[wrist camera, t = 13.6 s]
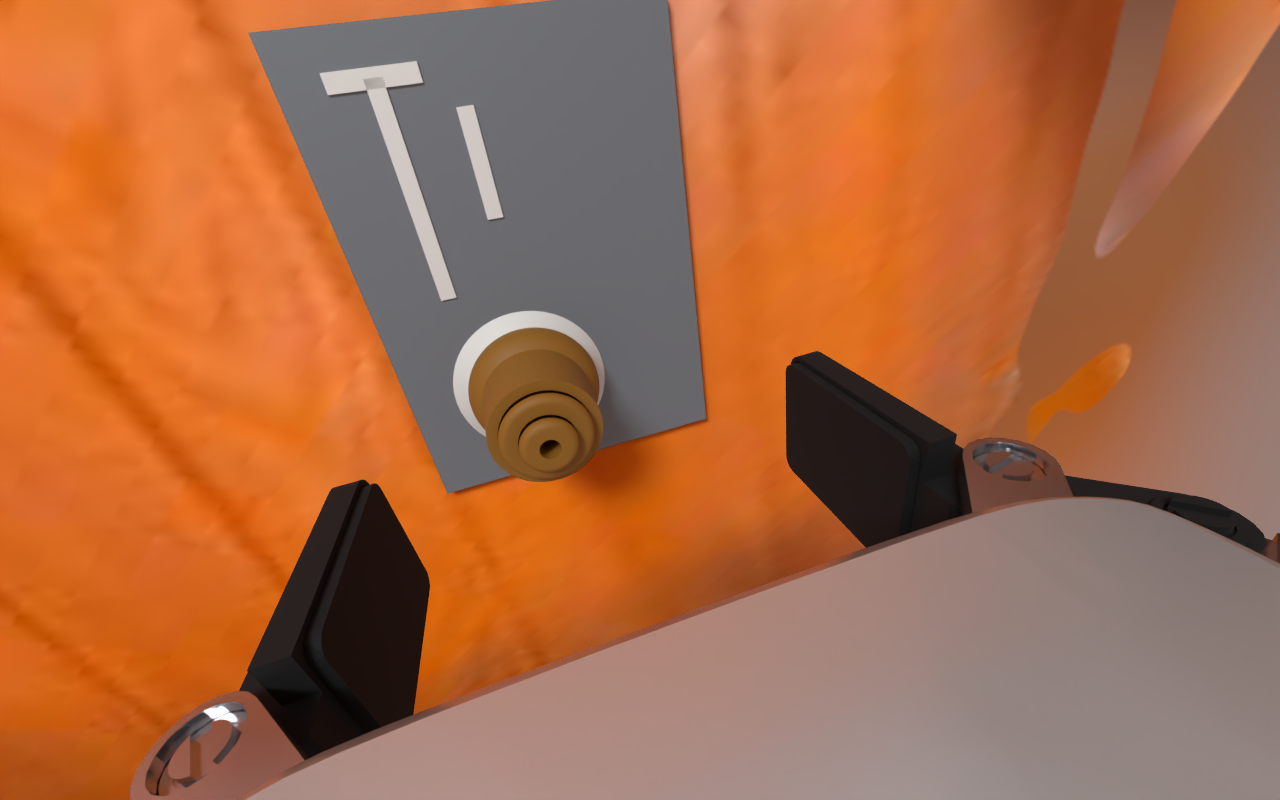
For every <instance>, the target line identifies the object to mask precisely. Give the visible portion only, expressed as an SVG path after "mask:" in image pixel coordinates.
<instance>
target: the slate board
mask: <svg viewBox="0 0 1280 800" xmlns="http://www.w3.org/2000/svg"><path fill="white" fill-rule="evenodd" d="M249 35H250V37H251V40H252V42H253V44H254V47H255V49H256V51H257V54H258V56H259V58H260V61H261V63H262V65H263V68H264V70H265V72H266V74H267V77H268V79H269V81H270V84H271V86H272V88H273V91H274V93H275V95H276V98H277V100H278V102H279V105H280V107H281V109H282V111H283V114H284V116H285V118H286V121H287V123H288V125H289V128H290V130H291V132H292V135H293V137H294V139H295V142H296V144H297V146H298V148H299V151H300V153H301V155H302V158H303V160H304V162H305V165H306V167H307V169H308V172H309V174H310V176H311V179H312V181H313V183H314V185H315V188H316V190H317V192H318V195H319V197H320V199H321V202H322V204H323V206H324V209H325V211H326V213H327V216H328V218H329V220H330V222H331V225H332V227H333V229H334V232H335V234H336V236H337V239H338V241H339V243H340V246H341V248H342V250H343V253H344V255H345V257H346V259H347V262H348V264H349V266H350V269H351V271H352V273H353V276H354V278H355V280H356V283H357V285H358V287H359V290H360V292H361V294H362V296H363V299H364V301H365V303H366V306H367V308H368V310H369V313H370V315H371V317H372V320H373V322H374V324H375V327H376V329H377V331H378V333H379V336H380V338H381V340H382V343H383V345H384V347H385V350H386V352H387V354H388V357H389V359H390V361H391V364H392V366H393V368H394V370H395V373H396V375H397V377H398V380H399V382H400V384H401V387H402V389H403V391H404V394H405V396H406V398H407V401H408V403H409V405H410V407H411V410H412V412H413V414H414V417H415V419H416V421H417V424H418V426H419V428H420V431H421V433H422V435H423V438H424V440H425V442H426V444H427V447H428V449H429V451H430V454H431V456H432V458H433V461H434V463H435V465H436V468H437V470H438V472H439V474H440V477H441V479H442V481H443V484H444V486H445V488H446V491H447V493H452V492H455V491H458V490H462V489H465V488H469V487H472V486H476V485H479V484H483V483H486V482H489V481H493V480H496V479H500V478H503V477H507V476H510V475H511V474H509V473H507V472H506V471H504V470H503V469H502V468H501V467H500V466H499V465H498V464H497V463H496V462H495V460H494V459H493V457H492V456H491V454H490V451H489V449H488V445H487V440H486V431H485V430H484V429H483V427H482V426H481V425H480V424H479V422H478V421H477V419H476V417H475V416H474V413H473V411H472V408H471V405H470V401H469V394H468V385H469V378H470V374H471V371H472V368H473V366H474V364H475V362H476V360H477V358H478V357H479V355H480V354H481V353H482V352H483V350H484V349H485V348H486V347H487V346H488V345H489V344H490V343H492V342H493V341H494V340H496V339H497V338H499V337H501V336H502V335H504V334H507V333H509V332H512V331H515V330H518V329H523V328H533V327H538V328H547V329H552V330H556V331H559V332H561V333H563V334H566V335H567V336H569V337H571V338H573V339H574V340H575V341H577V342H578V343H579V344H580V345H581V346H582V347H583V348H584V349H585V350H586V351H587V352H588V354H589V355H590V357H591V358H592V360H593V362H594V364H595V366H596V369H597V373H598V377H599V398H598V402H597V404H598V407H599V409H600V412H601V415H602V420H603V435H602V439H601V442H600V445H599V447H598V449H597V450H600V449H603V448H607V447H610V446H613V445H617V444H620V443H624V442H627V441H631V440H634V439H638V438H641V437H644V436H648V435H651V434H655V433H658V432H662V431H665V430H669V429H672V428H675V427H679V426H682V425H686V424H689V423H693V422H696V421H699V420H703V419H706V410H705V399H704V388H703V377H702V367H701V356H700V345H699V334H698V323H697V313H696V302H695V291H694V280H693V269H692V259H691V248H690V237H689V226H688V215H687V205H686V194H685V183H684V172H683V161H682V151H681V140H680V129H679V118H678V107H677V97H676V86H675V75H674V64H673V53H672V43H671V32H670V21H669V10H668V0H552V1H543V2H533V3H524V4H515V5H505V6H496V7H486V8H477V9H468V10H458V11H449V12H440V13H430V14H421V15H412V16H402V17H393V18H383V19H374V20H365V21H355V22H346V23H337V24H327V25H318V26H308V27H299V28H290V29H280V30H271V31H262V32H252V33H249Z"/></svg>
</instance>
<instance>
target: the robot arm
mask: <svg viewBox="0 0 1280 800" xmlns="http://www.w3.org/2000/svg"><path fill="white" fill-rule="evenodd" d="M956 436H957V434H955V433H954V432H952V431H950V430H949V429H947V428H945V427H944V426H942V425H940V424H939V423H937V422H935V421H934V420H932V419H930V418H929V417H927V416H925V415H924V414H922V413H920V412H919V411H917V410H916V409H914V408H912V407H911V406H909V405H907V404H906V403H904V402H902V401H901V400H899V399H897V398H896V397H894V396H892V395H891V394H889V393H887V392H886V391H884V390H882V389H881V388H879V387H877V386H876V385H874V384H872V383H871V382H869V381H867V380H866V379H864V378H862V377H861V376H859V375H857V374H856V373H854V372H852V371H851V370H849V369H847V368H846V367H844V366H842V365H841V364H839V363H837V362H836V361H834V360H832V359H831V358H829V357H827V356H826V355H824V354H822V353H821V352H818V351H816V352H812V353H809V354H805V355H801V356H798V357H795V358H794V359H793V360H792V362H791V365H789V366H787V368H786V455H787V461H788V464H789V466H790V468H791V469H792V471H793V472H794V473H795V474H796V475H797V476H798V477H799V478H800V479H801V480H802V481H803V482H804V483H805V484H806V485H807V486H808V487H809V489H810V490H811V491H812V492H813V493H814V494H815V495H816V496H817V497H818V498H819V499H820V500H821V501H822V502H823V503H824V504H825V505H826V506H827V507H828V508H829V509H830V510H831V511H832V513H833V514H834V515H835V516H836V517H837V518H838V519H839V520H840V521H841V522H842V523H843V524H844V525H845V526H846V527H847V528H848V529H849V530H850V531H851V532H852V533H853V534H854V536H855V537H856V538H857V539H858V540H859V541H860V542H861V543H862V544H863V545H864V546H865V547H866V548H865V549H862V550H859V551H856V552H853V553H851V554H848V555H845V556H842V557H839V558H837V559H834V560H831V561H828V562H826V563H823V564H820V565H817V566H814V567H812V568H809V569H806V570H803V571H800V572H798V573H795V574H792V575H789V576H786V577H784V578H781V579H778V580H775V581H773V582H770V583H767V584H764V585H761V586H759V587H756V588H753V589H750V590H748V591H745V592H742V593H739V594H737V595H734V596H731V597H728V598H726V599H723V600H720V601H717V602H715V603H712V604H709V605H706V606H704V607H701V608H698V609H695V610H693V611H690V612H687V613H684V614H682V615H679V616H676V617H674V618H671V619H668V620H665V621H663V622H660V623H657V624H654V625H652V626H649V627H646V628H643V629H641V630H638V631H635V632H633V633H630V634H627V635H624V636H622V637H619V638H616V639H613V640H611V641H608V642H605V643H603V644H600V645H597V646H595V647H592V648H589V649H586V650H584V651H581V652H578V653H576V654H573V655H570V656H568V657H565V658H562V659H559V660H557V661H554V662H551V663H549V664H546V665H543V666H541V667H538V668H535V669H533V670H530V671H527V672H524V673H522V674H519V675H516V676H514V677H511V678H508V679H506V680H503V681H500V682H498V683H495V684H492V685H489V686H487V687H484V688H481V689H479V690H476V691H473V692H471V693H468V694H465V695H463V696H460V697H458V698H455V699H453V700H450V701H447V702H445V703H442V704H440V705H437V706H435V707H432V708H429V709H427V710H424V711H422V712H419V713H417V714H414V715H413V712H414V705H415V697H416V689H417V682H418V674H419V667H420V659H421V651H422V644H423V636H424V628H425V621H426V613H427V606H428V598H429V590H430V583H429V577H428V574H427V571H426V569H425V568H424V566H423V564H422V562H421V560H420V559H419V557H418V555H417V553H416V551H415V549H414V548H413V546H412V544H411V542H410V540H409V539H408V537H407V535H406V533H405V531H404V530H403V528H402V526H401V524H400V522H399V521H398V519H397V517H396V515H395V513H394V511H393V510H392V508H391V506H390V504H389V502H388V501H387V499H386V497H385V495H384V493H383V492H382V490H381V488H380V487H379V486H378V485H377V484H375V483H374V484H371V485H369V483H368V482H366V481H365V480H360V481H356V482H352V483H349V484H345V485H342V486H338V487H335V488H332V489H331V491H330V492H329V494H328V497H327V499H326V501H325V503H324V505H323V507H322V510H321V512H320V514H319V516H318V518H317V520H316V523H315V525H314V527H313V529H312V531H311V533H310V536H309V538H308V540H307V542H306V544H305V546H304V549H303V551H302V553H301V555H300V557H299V559H298V562H297V564H296V566H295V568H294V570H293V572H292V574H291V577H290V579H289V581H288V583H287V585H286V587H285V590H284V592H283V594H282V596H281V598H280V600H279V603H278V605H277V607H276V609H275V611H274V613H273V616H272V618H271V620H270V622H269V624H268V626H267V629H266V631H265V633H264V635H263V637H262V639H261V642H260V644H259V646H258V648H257V650H256V652H255V655H254V657H253V659H252V661H251V663H250V665H249V668H248V670H247V671H248V673H247V675H246V677H245V679H244V681H243V684H242V686H241V688H240V690H239V691H234V692H230V693H226V694H223V695H219V696H217V697H215V698H213V699H211V700H209V701H207V702H205V703H203V704H201V705H200V706H198V707H197V708H195V709H194V710H192V711H191V712H189V713H188V714H186V715H185V716H184V717H182V718H181V719H180V720H179V721H178V722H177V723H175V724H174V725H173V726H172V727H171V728H170V729H169V730H168V731H166V732H165V733H164V734H163V735H162V737H161V738H160V739H159V740H158V741H157V742H156V743H155V745H154V746H153V747H152V748H151V749H150V750H149V751H148V753H147V754H146V756H145V758H144V759H143V761H142V762H141V764H140V765H139V767H138V769H137V770H136V773H135V775H134V778H133V781H132V784H131V787H130V798H131V800H1280V533H1277V534H1276V536H1275V537H1274V538H1273V540H1269V539H1266V538H1264V534H1263V533H1262V532H1261V531H1260V530H1259V529H1258V528H1257V527H1256V525H1254V523H1252V522H1251V521H1249V520H1248V519H1246V518H1245V517H1243V516H1242V515H1240V514H1239V513H1237V512H1235V511H1233V510H1231V509H1229V508H1227V507H1225V506H1223V505H1221V504H1219V503H1217V502H1214V501H1212V500H1209V499H1206V498H1202V497H1197V496H1190V495H1186V494H1180V493H1174V492H1168V491H1161V490H1154V489H1148V488H1142V487H1135V486H1129V485H1122V484H1116V483H1109V482H1103V481H1096V480H1090V479H1083V478H1077V477H1071V476H1065V475H1064V473H1063V471H1062V468H1061V466H1060V465H1059V463H1058V462H1057V460H1056V459H1055V458H1054V457H1053V456H1051V455H1050V454H1049V453H1047V452H1046V451H1044V450H1042V449H1040V448H1038V447H1036V446H1034V445H1031V444H1028V443H1025V442H1022V441H1018V440H1012V439H1006V438H984V439H977V440H975V441H973V442H970V443H968V444H967V446H966V447H965V448H964V449H963V448H961V447H959V446H958V445H956V444H955V441H956Z"/></svg>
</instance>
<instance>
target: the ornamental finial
mask: <svg viewBox="0 0 1280 800" xmlns="http://www.w3.org/2000/svg"><path fill="white" fill-rule="evenodd" d="M468 394H469V401H470V405H471V408H472V411H473V413H474V416H475V417H476V419H477V421H478V422H479V424H480V425H481V426H482V427H483V429H484V430H485V431H486V440H487V445H488V449H489V451H490V454H491V456H492V457H493V459H494V460H495V462H496V463H497V464H498V465H499V466H500V467H501V468H502V469H503V470H504V471H506V472H507V473H509V474H511V475H513V476H515V477H517V478H520V479H523V480H527V481H533V482H547V481H553V480H557V479H561V478H564V477H567V476H569V475H571V474H573V473H575V472H576V471H578V470H579V469H581V468H582V467H583V466H584V465H585V464H587V463H588V462H589V460H590V459H591V458H592V457H593V456H594V454H595V453H596V451H597V449H598V447H599V445H600V442H601V439H602V435H603V420H602V415H601V412H600V409H599V407H598V404H597V402H598V398H599V377H598V373H597V369H596V366H595V364H594V362H593V360H592V358H591V357H590V355H589V354H588V352H587V351H586V350H585V349H584V348H583V347H582V346H581V345H580V344H579V343H578V342H577V341H575V340H574V339H573V338H571V337H569V336H567V335H566V334H563V333H561V332H559V331H556V330H552V329H547V328H538V327H533V328H523V329H518V330H515V331H512V332H509V333H507V334H504V335H502V336H501V337H499V338H497V339H496V340H494V341H493V342H492V343H490V344H489V345H488V346H487V347H486V348H485V349H484V350H483V352H482V353H481V354H480V355H479V357H478V358H477V360H476V362H475V364H474V366H473V368H472V371H471V374H470V378H469V385H468Z"/></svg>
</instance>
